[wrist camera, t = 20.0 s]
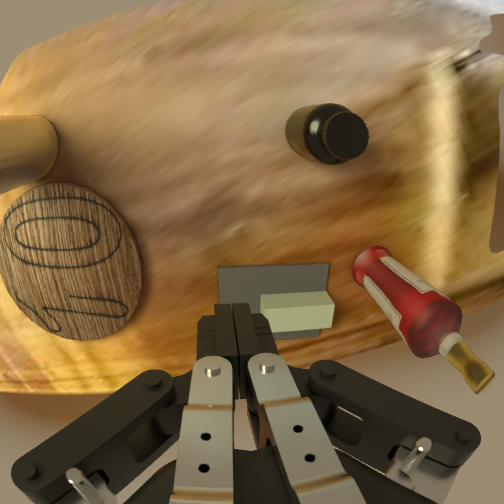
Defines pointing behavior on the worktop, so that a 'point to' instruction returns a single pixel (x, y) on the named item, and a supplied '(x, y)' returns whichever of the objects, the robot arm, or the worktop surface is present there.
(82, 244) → the trivet
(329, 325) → the block
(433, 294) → the red sauce bottle
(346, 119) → the supplement bottle
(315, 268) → the mat
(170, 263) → the worktop surface
